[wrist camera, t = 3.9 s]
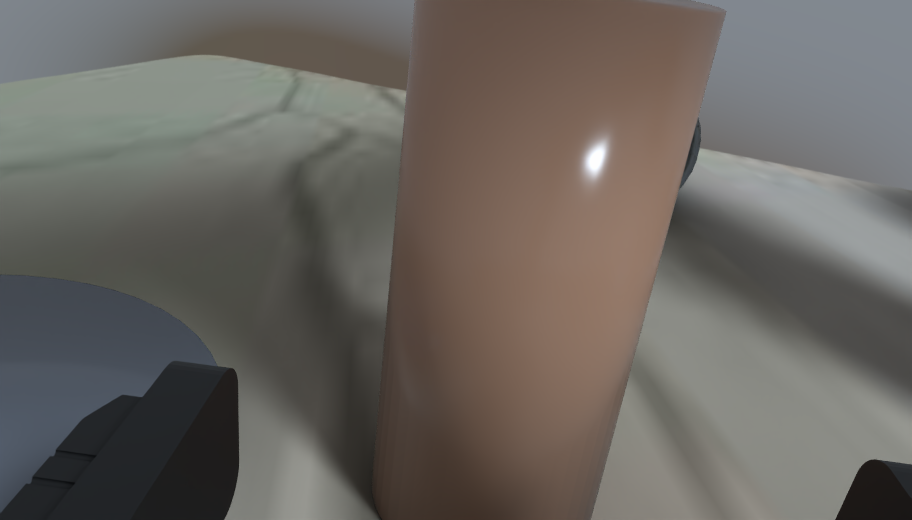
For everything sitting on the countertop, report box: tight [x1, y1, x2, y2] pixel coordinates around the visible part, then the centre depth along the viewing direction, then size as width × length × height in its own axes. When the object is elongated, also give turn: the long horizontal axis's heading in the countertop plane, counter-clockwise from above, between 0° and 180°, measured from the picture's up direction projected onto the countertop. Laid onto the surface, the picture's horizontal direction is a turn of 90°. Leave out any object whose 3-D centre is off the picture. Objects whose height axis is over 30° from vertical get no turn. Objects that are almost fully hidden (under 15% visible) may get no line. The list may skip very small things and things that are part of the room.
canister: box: [372, 0, 726, 520], centre depth 16 cm, size 6×6×12 cm
